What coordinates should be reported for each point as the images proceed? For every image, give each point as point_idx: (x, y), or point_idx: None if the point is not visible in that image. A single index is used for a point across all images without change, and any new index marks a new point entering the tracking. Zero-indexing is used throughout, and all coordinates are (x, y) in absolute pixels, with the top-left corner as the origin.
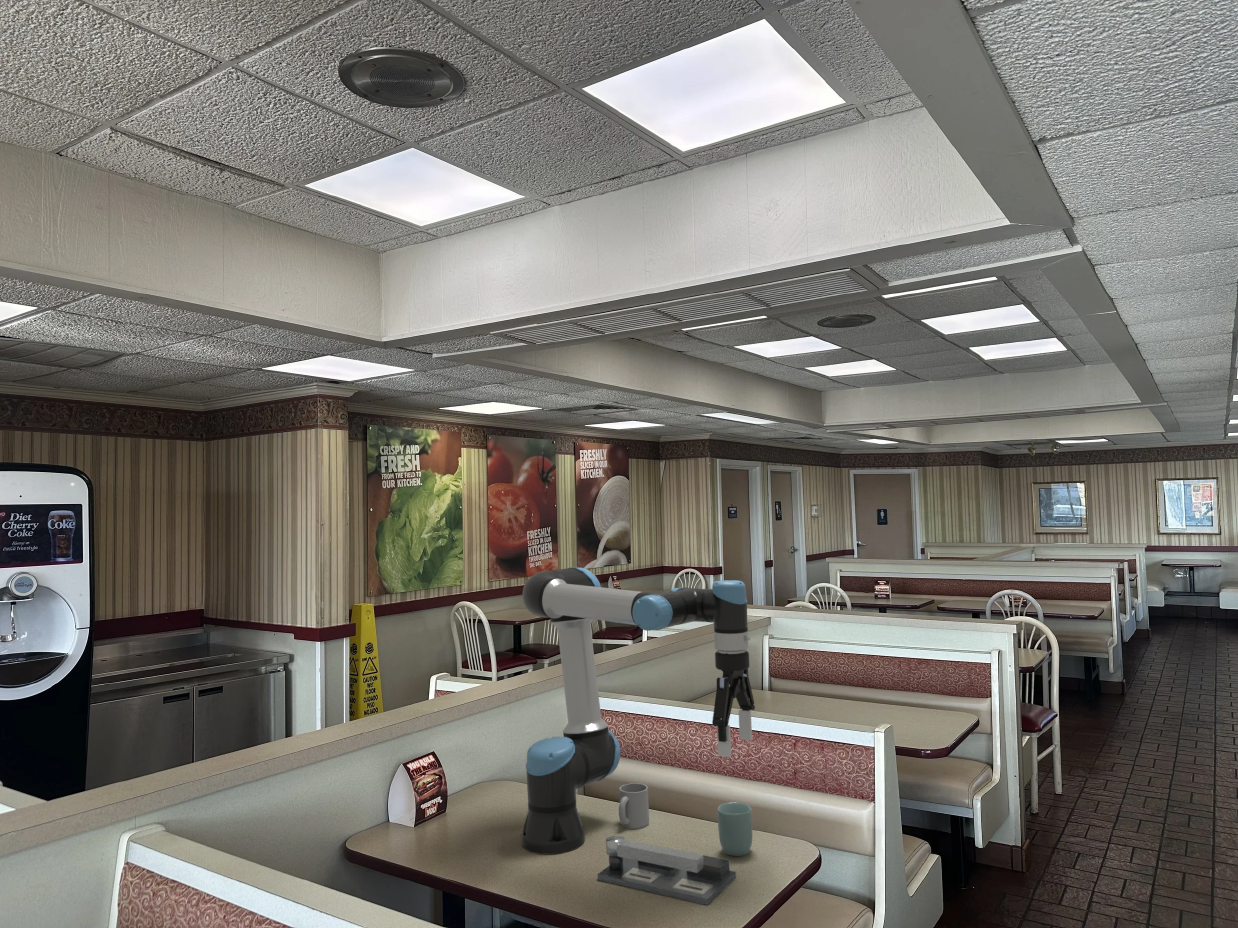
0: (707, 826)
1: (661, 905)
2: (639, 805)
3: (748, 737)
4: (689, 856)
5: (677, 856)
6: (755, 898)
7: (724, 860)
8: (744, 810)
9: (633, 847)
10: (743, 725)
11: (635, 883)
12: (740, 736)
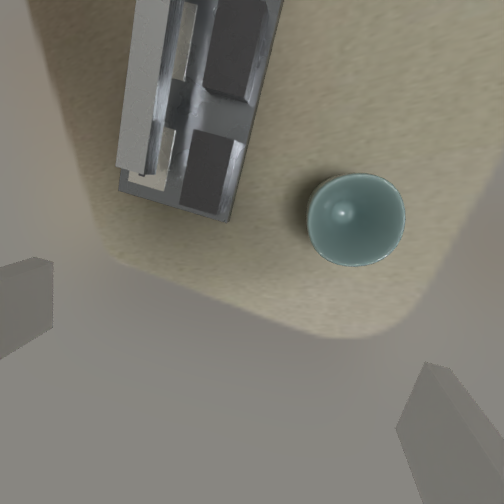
0: (497, 117)
1: (101, 113)
2: None
3: (406, 429)
4: (128, 146)
5: (121, 119)
6: (164, 259)
7: (213, 206)
8: (378, 243)
9: None
10: (464, 492)
11: None
12: (430, 380)
